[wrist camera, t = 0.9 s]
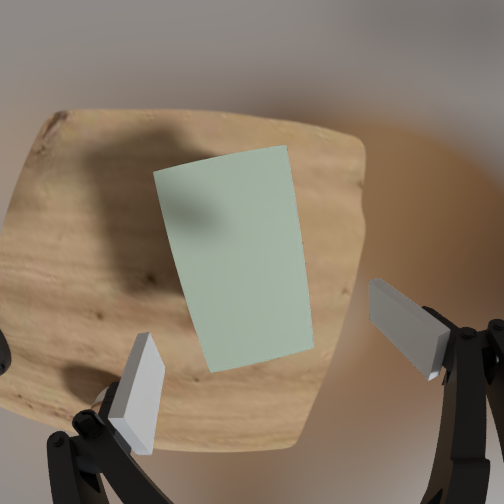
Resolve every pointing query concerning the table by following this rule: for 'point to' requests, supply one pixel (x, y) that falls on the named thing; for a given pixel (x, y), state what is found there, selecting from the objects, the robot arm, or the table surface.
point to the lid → (239, 255)
